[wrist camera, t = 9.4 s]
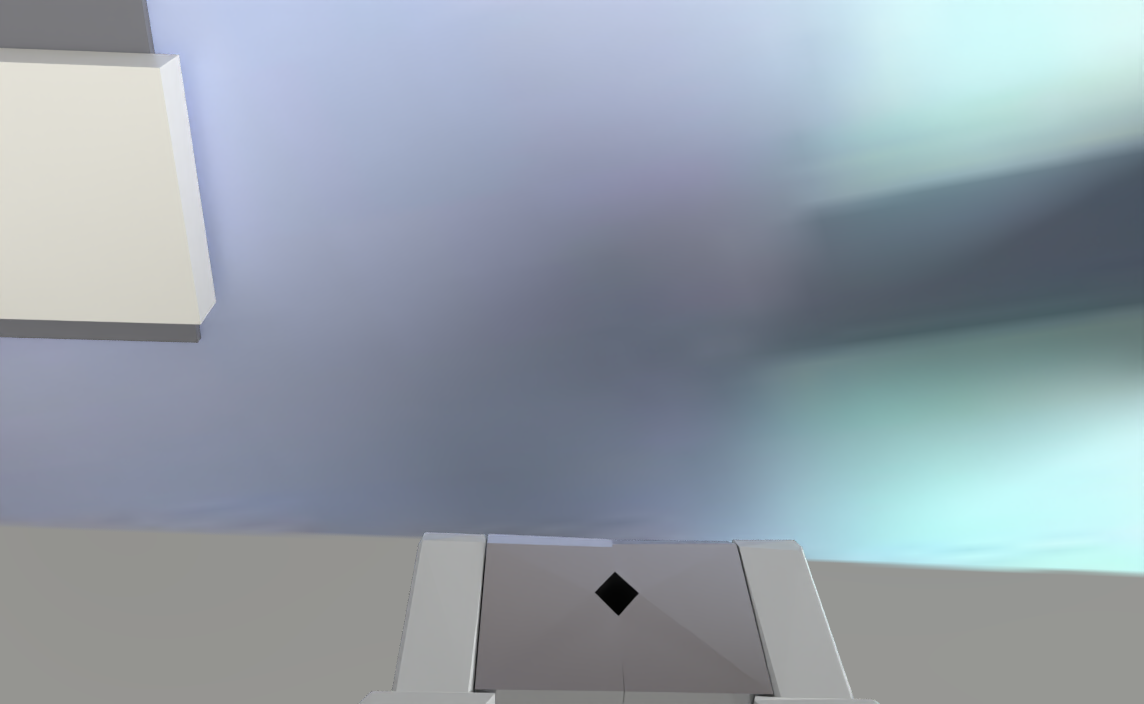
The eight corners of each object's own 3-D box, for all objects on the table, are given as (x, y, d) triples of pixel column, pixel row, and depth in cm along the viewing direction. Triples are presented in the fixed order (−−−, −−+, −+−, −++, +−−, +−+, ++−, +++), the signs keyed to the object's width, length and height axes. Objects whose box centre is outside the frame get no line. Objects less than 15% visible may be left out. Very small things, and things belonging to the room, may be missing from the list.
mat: (144, -7, 35) (140, -5, 35) (200, 338, 42) (198, 342, 42) (-201, -21, 35) (-208, -19, 34) (-88, 329, 42) (-93, 334, 41)
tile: (159, 68, 34) (-138, 56, 34) (200, 324, 39) (-58, 316, 39) (179, 54, 36) (-102, 43, 36) (216, 300, 41) (-31, 293, 40)
